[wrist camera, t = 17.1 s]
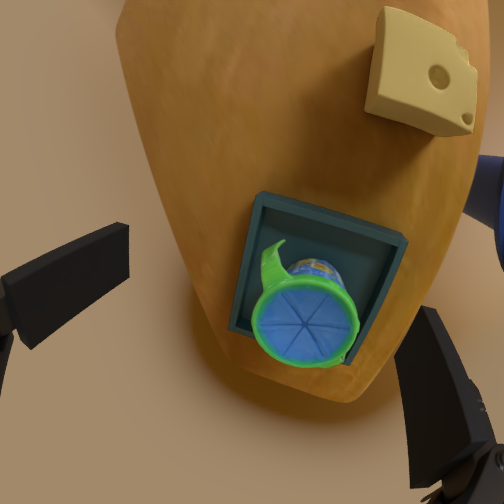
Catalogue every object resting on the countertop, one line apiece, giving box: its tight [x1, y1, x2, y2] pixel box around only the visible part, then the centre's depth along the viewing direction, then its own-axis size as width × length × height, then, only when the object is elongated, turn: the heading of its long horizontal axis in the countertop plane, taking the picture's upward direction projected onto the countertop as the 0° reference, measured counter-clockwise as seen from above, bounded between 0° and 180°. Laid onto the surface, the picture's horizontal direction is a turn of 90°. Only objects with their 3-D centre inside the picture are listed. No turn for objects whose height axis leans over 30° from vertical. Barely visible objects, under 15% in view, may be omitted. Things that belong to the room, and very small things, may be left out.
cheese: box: [364, 6, 477, 137], centre depth 20 cm, size 10×11×10 cm
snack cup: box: [251, 239, 360, 368], centre depth 30 cm, size 16×10×10 cm
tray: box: [228, 191, 408, 366], centre depth 34 cm, size 18×19×4 cm
